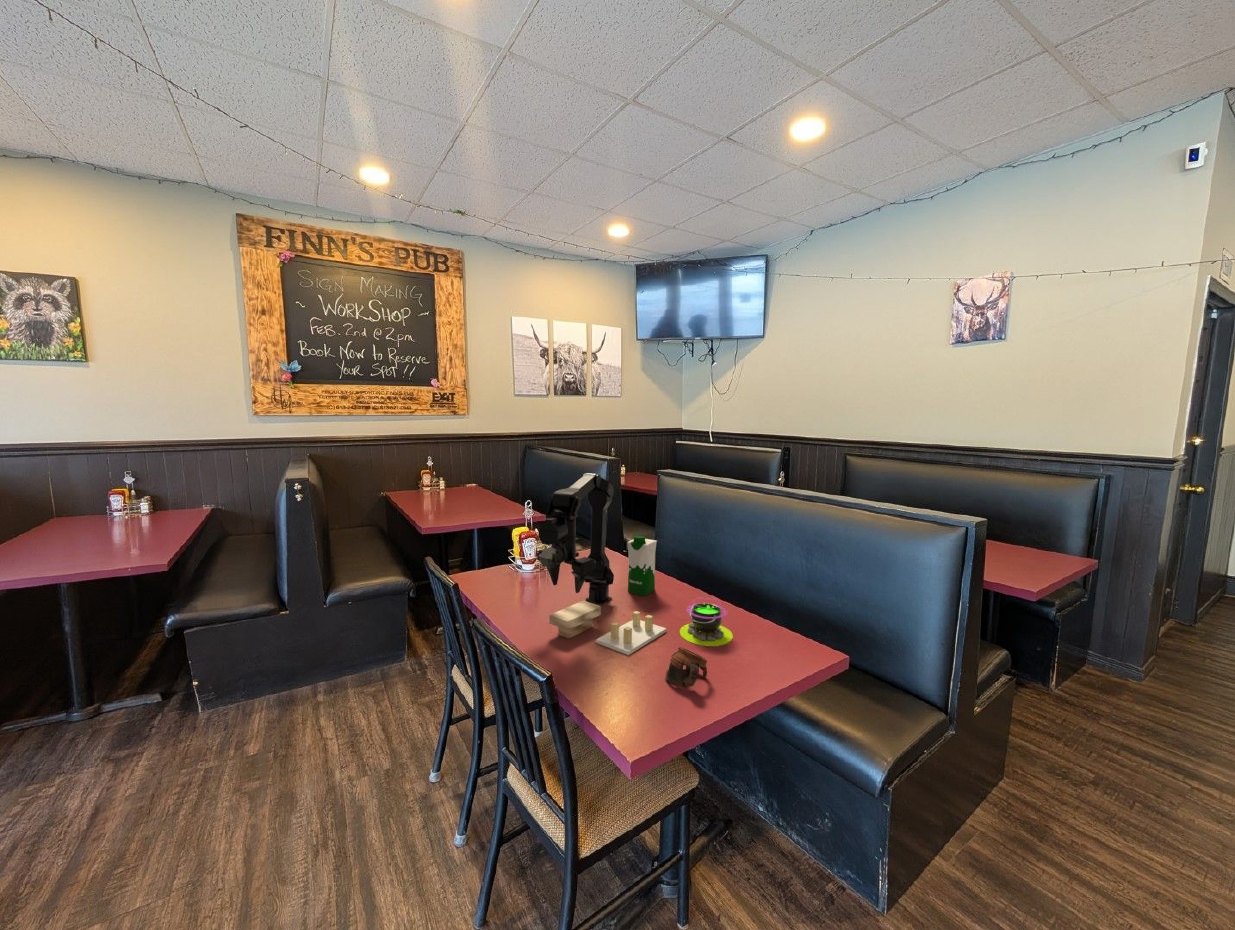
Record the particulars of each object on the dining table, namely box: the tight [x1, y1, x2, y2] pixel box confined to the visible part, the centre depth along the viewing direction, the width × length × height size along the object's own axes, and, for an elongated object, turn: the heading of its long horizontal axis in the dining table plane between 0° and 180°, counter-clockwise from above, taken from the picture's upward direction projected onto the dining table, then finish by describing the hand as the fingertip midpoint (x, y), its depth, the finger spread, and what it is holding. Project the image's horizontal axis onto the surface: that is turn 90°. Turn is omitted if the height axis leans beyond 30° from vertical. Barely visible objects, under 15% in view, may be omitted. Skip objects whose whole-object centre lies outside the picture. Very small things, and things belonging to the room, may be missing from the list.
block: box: [557, 618, 594, 640], centre depth 145 cm, size 10×4×4 cm, turn 142°
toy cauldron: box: [679, 593, 734, 647], centre depth 143 cm, size 15×15×11 cm
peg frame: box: [595, 610, 667, 656], centre depth 141 cm, size 18×11×5 cm, turn 142°
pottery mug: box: [664, 647, 708, 689], centre depth 118 cm, size 12×10×8 cm
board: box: [548, 600, 602, 631], centre depth 145 cm, size 14×7×2 cm, turn 142°
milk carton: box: [627, 534, 658, 597], centre depth 176 cm, size 9×9×20 cm
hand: (566, 588), depth 144 cm, fingers open, 9 cm apart
